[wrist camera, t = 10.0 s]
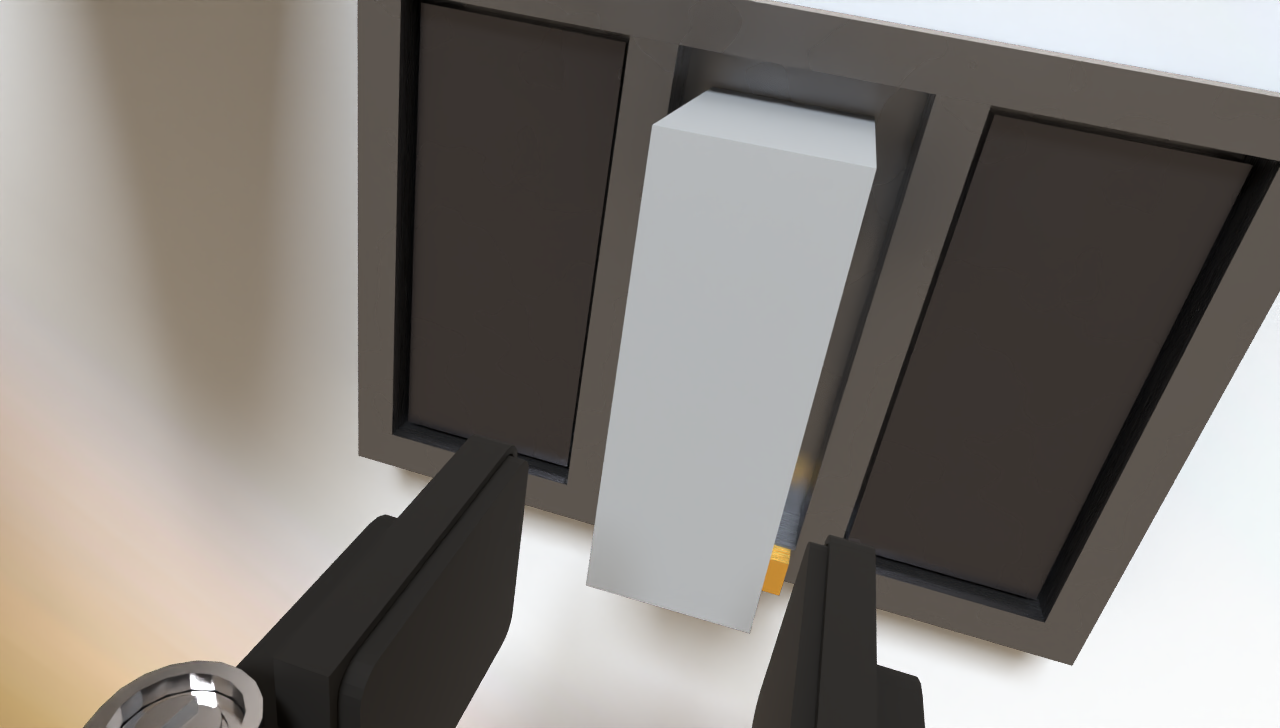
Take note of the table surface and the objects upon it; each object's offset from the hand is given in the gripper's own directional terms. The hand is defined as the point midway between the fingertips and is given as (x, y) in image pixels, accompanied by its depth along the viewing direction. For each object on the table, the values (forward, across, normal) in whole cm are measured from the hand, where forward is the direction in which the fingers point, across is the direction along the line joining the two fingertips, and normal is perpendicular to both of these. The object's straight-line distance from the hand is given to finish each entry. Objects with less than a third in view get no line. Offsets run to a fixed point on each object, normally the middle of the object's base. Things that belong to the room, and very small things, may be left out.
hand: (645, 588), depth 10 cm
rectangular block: (+10, 0, 0) cm, 10 cm away
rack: (+11, 0, 0) cm, 11 cm away
